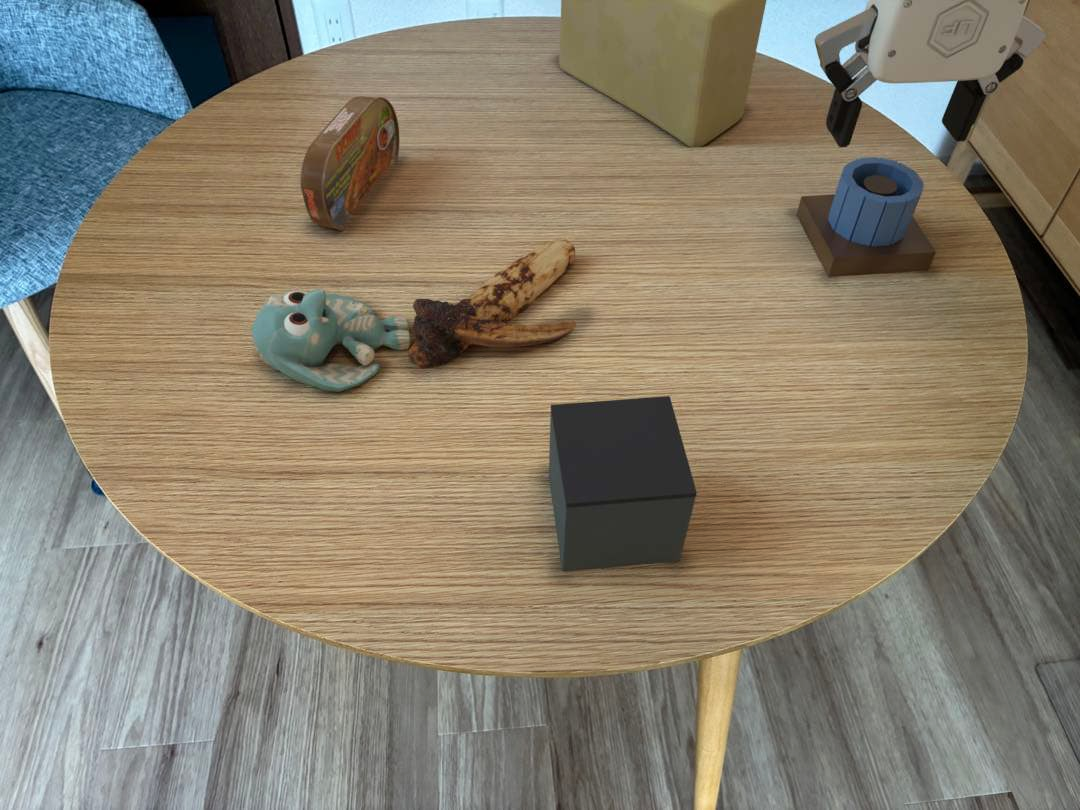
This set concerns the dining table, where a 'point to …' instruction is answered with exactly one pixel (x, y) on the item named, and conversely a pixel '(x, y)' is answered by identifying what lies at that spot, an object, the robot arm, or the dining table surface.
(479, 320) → the bone fish hook
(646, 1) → the cheese
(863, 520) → the dining table surface
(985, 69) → the robot arm
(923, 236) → the platform
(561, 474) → the block
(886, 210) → the ring
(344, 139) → the tin
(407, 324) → the teal creature figurine
